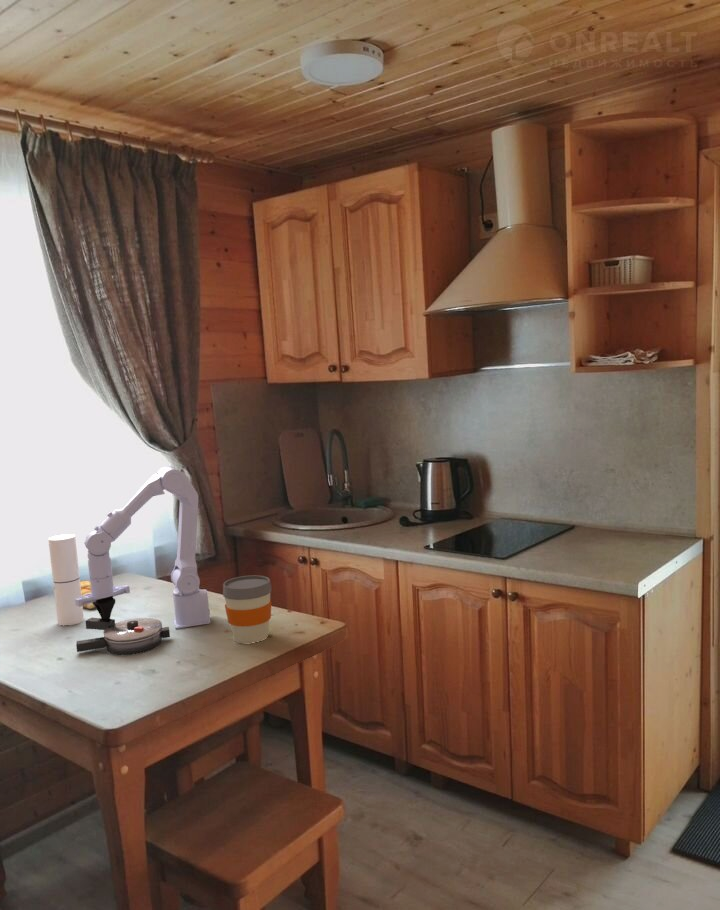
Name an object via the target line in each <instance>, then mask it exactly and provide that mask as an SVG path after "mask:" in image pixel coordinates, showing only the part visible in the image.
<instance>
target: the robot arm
mask: <svg viewBox="0 0 720 910" xmlns="http://www.w3.org/2000/svg"><path fill="white" fill-rule="evenodd" d="M189 478H190V477H188V476H187V475H186V474H184V473H183V472H182V471H181V470H178V469H176V468H175V467H173V466H170V465H167V466H163V467H161V468H160V469H158V471H157V473H154V474H153V475H151V476H150V478H149V479H147V481H146V482H144V484H143V485H142V486H141V487H140V488H139V490H137V492H136V493H135V494H133V496H132V497H131V498H130V499H129V501H128V502H127V503H126V504H125V505H124V506H123V508H119V509H117V508H116V509H114V510H113V511H109V512H108V513H107V514H106V516H107V517H106V518H105V519H104V520H103V521H102V522H101V523H100V524H99V525H96V526H94V527H93V529H94V531H91V532H89V533H88V534H87V535H86V537H85V540H84V545H85V548H86V550H88V551H87V558H88V560H87V567H88V575H89V582H90V585H91V593H89V594H87V595H84V596H82V597H79V598H76V599H75V604H76V606H78V607H81V606H83V605H86V604H89V603H93V605H94V606H95V607H94V608H95V609H96V610H97V613H98V614H99V616H100V618H103V619H111V615H112V611H113V609H114V606H115V605H116V598H114V597H116V596H117V597H118V596H120V595H125V594H130V593H131V590H130V585H127V584H124V585H119V586H115V587H114V578H113V577H114V576H113V570H112V560H111V557H110V549H111V547H112V546H111V545H112V543H113V542H115V541H116V540H117V539H118V538H119V537H120V536H121V535H122V534H123V532H124V531H126V530H127V529H128V528H129V527H130V526H131V524H132V517H133V515H135V514H136V513H137V512H138V511H139V510H140V509H142V508H143V506H144V505H145V504H147V503H148V502H149V501H150V499H152V498H153V497H156V496H162V495H165V491H167V492H168V493H170V494H172V495H173V496H174V497H175V498H176V499H177V500H178V501H179V509H178V510H179V511H178V529H177V534H178V535H177V549H176V550H177V553H176V555H177V556H176V558H175V561H174V568H173V569H172V571H171V573H170V581H171V583H172V584H173V585H174V589H173V590H172V594H173V595H172V598H173V606H174V607H173V608H174V616H175V617H174V618H173V624H174V627H175V629H176V630H177V629H183V628H184V629H185V628H189V627H197V626H202V625H209V624H211V617H210V615H211V613H210V612H211V611H210V605H209V596H208V590H207V589H205V588H204V589H200V585H201V584H200V583H201V580H200V577H199V574H198V565H197V562H196V549H197V547H196V546H197V532H198V531H197V530H198V512H199V511H198V510H199V494H198V492H197V490H196V489H195V487H194V486H193V484H192V483H191V481H190V479H189ZM164 490H165V491H164Z"/></svg>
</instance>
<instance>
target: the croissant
mask: <svg viewBox="0 0 720 910" xmlns="http://www.w3.org/2000/svg"><path fill="white" fill-rule="evenodd" d="M80 587H81V596H84V595H87V594H89V593H91V585H90V580H80ZM84 608H85V609H90V610H91V609H95V608H96V607H95V606H94V605H93V603H89V604H86V605H83V609H84Z"/></svg>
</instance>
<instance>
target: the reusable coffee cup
mask: <svg viewBox="0 0 720 910" xmlns="http://www.w3.org/2000/svg"><path fill="white" fill-rule="evenodd" d="M272 590H273V589H272V584H271V579H270V577H267V576H265V575H258V574H257V575H255V574H254V575H243V576H237V577H233V578H230V579H227V580H226V581H224V582H223V583H222V596H223V597H224V601H225V605H224V608H225V613H226V617H227V622H228V624H229V625H230V628H231V633H232V638H233V642H235V641H236V642H239V643H252V642H257V641H261V640H263V639H265V638H267V637H269V631H270V630H269V628H270V627H269V626H270V619H271V617H272V599H271V592H272ZM267 639H268V638H267ZM236 642H235V643H236ZM239 643H238V644H239Z"/></svg>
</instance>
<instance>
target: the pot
mask: <svg viewBox="0 0 720 910" xmlns="http://www.w3.org/2000/svg"><path fill="white" fill-rule="evenodd" d="M170 632H171V631H170V627H169V626H165V627H162V629H161V631H159V632H158V633H156V634H155V635H152V636H150V637H147V638H143V639H139V640H134V641H125V642H116V641H110V640H107V639H105V638H104V636H101V637H96V638H88V639H83V640H82V639H81V640H76V644H75V646H76V652H77V653H80V652H86V651H93V650H99V649H105V650H106V652H107V653H109V654H111V655H115V656H133V655H138V654H143V653H147V652H149V651H152V650H154V649H156V648H158V647H159V646H160V645H162V644H163V639H167V638H171V635H170Z"/></svg>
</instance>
